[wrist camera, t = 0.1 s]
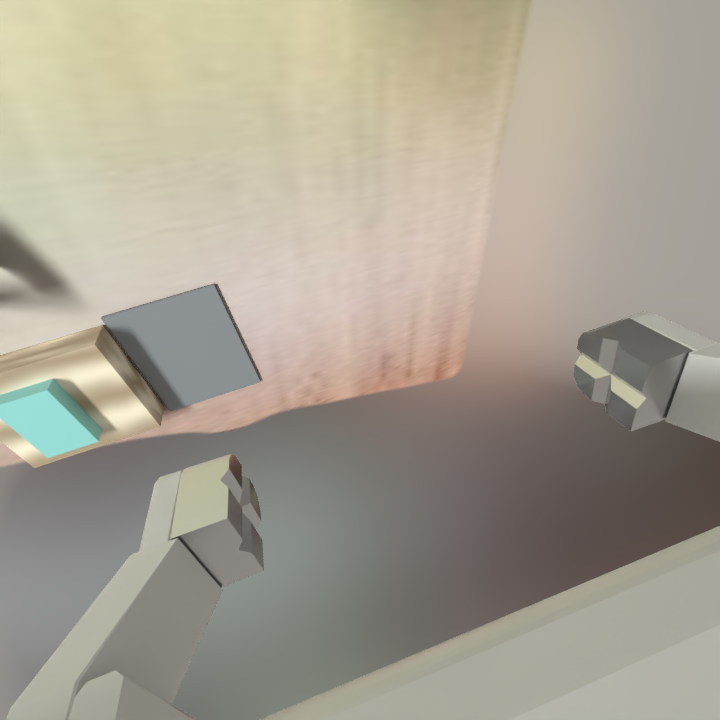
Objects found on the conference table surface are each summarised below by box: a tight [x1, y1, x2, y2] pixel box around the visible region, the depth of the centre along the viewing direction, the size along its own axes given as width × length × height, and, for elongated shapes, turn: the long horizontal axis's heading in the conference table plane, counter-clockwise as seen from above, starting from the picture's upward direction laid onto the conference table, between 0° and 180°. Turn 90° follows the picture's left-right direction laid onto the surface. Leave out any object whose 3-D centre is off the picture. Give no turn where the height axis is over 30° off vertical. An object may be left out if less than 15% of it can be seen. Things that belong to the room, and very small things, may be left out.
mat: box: [101, 284, 260, 411], centre depth 50 cm, size 16×13×1 cm
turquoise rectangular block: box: [0, 379, 102, 458], centre depth 44 cm, size 9×6×2 cm, turn 10°
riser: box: [0, 325, 164, 468], centre depth 47 cm, size 14×16×4 cm
